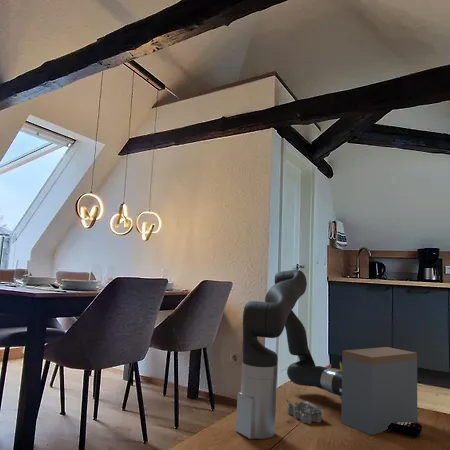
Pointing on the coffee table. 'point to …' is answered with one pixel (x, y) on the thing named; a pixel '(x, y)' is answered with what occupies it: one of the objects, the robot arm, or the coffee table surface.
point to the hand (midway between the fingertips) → (382, 396)
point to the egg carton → (304, 412)
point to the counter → (378, 388)
